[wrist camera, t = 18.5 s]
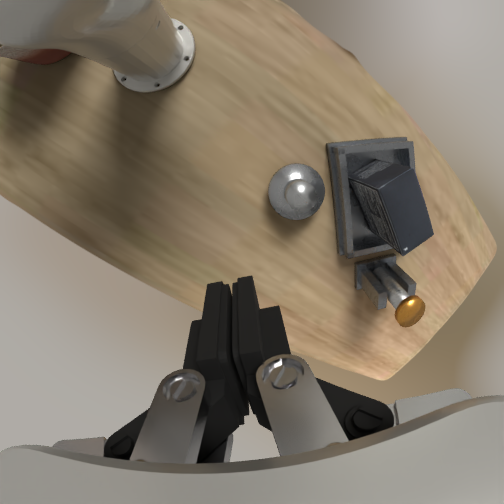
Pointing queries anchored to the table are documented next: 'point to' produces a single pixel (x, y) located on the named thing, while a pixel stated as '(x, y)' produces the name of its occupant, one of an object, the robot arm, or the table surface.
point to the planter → (33, 54)
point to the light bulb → (400, 299)
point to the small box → (392, 204)
